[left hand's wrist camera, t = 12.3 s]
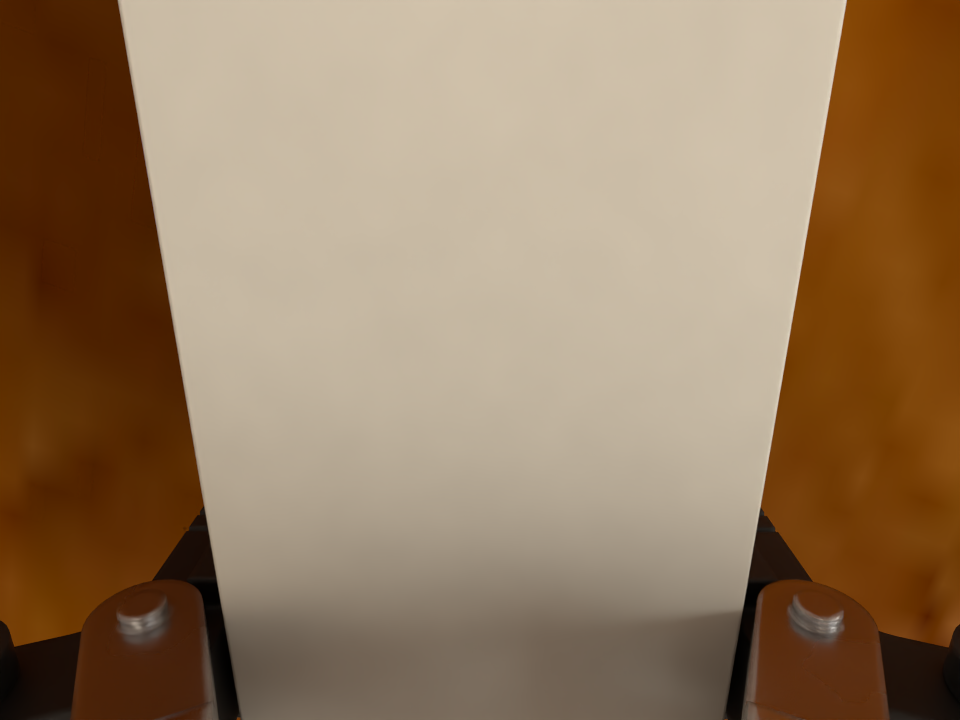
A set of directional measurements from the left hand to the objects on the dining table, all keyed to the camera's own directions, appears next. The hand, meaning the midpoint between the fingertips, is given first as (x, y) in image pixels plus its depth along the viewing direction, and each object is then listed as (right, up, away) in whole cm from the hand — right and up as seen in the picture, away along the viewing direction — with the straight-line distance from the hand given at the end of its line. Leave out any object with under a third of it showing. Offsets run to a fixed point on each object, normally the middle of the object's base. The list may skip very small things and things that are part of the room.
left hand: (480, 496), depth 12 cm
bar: (0, +11, +1) cm, 11 cm away
